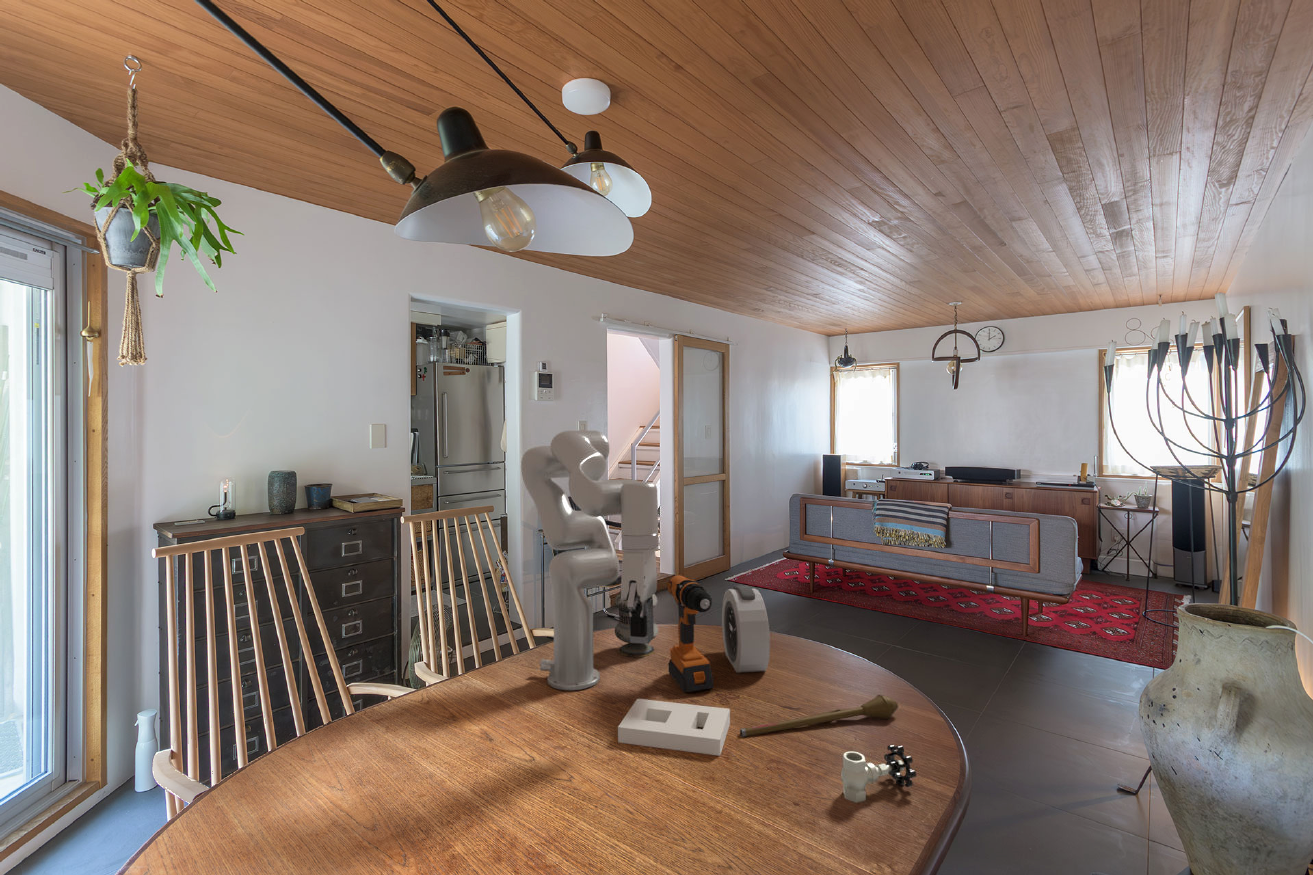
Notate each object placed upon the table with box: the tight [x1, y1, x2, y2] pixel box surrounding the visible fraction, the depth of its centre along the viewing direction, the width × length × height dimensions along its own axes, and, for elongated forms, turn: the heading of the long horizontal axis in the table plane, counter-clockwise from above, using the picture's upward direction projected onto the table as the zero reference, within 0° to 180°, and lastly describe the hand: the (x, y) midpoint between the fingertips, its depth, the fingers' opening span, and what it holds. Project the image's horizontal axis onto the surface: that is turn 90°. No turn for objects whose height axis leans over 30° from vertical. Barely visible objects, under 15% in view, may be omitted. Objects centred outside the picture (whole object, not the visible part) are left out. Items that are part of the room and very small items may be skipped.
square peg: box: [630, 598, 655, 645], centre depth 122 cm, size 4×4×8 cm
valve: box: [840, 744, 917, 804], centre depth 101 cm, size 7×7×12 cm
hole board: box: [617, 698, 731, 757], centre depth 121 cm, size 20×13×3 cm, turn 75°
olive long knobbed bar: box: [739, 694, 899, 738], centre depth 124 cm, size 5×35×5 cm
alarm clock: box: [721, 584, 771, 674], centre depth 158 cm, size 21×8×20 cm, turn 6°
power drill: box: [667, 574, 714, 693], centre depth 143 cm, size 22×7×25 cm, turn 16°
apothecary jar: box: [614, 588, 659, 658], centre depth 167 cm, size 12×12×18 cm
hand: (641, 631), depth 122 cm, fingers closed on square peg, 3 cm apart
